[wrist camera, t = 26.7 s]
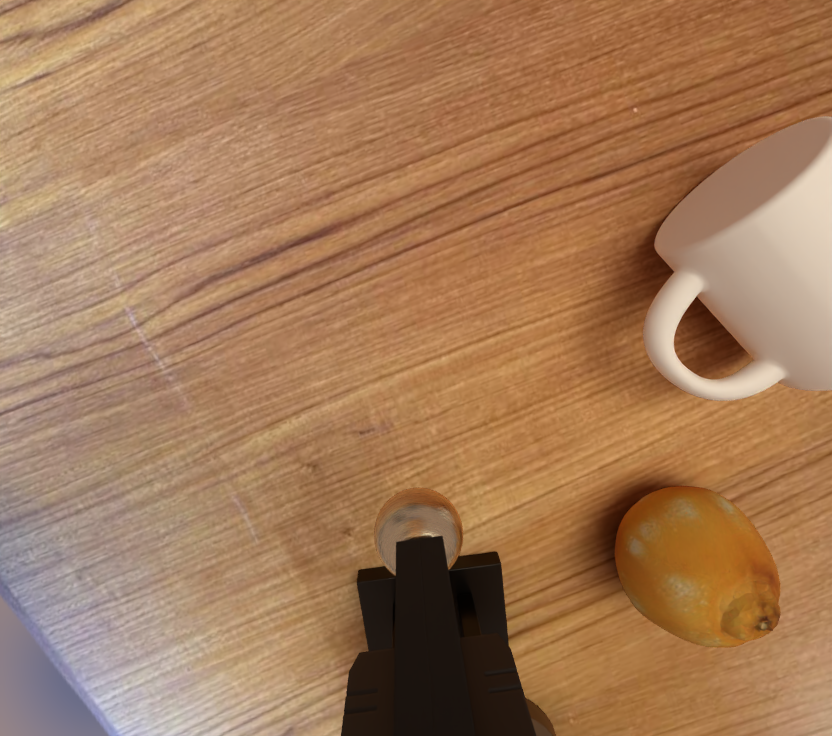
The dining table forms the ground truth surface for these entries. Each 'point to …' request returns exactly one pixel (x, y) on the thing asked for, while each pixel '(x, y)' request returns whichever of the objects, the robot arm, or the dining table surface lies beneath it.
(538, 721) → the lamp
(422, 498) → the lamp switch
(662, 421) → the dining table surface
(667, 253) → the mug
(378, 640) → the switch bracket
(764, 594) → the fruit
